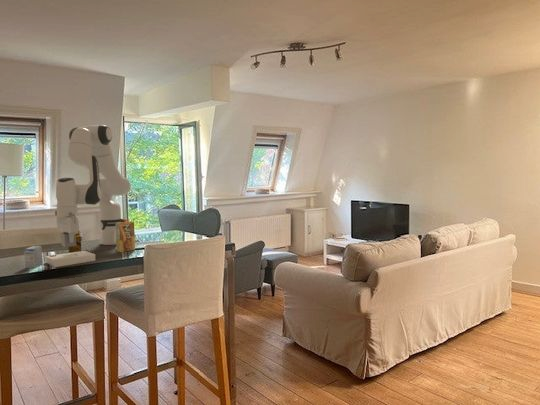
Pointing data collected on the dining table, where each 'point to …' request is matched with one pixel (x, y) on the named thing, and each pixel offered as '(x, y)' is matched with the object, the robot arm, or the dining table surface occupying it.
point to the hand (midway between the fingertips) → (68, 241)
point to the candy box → (125, 236)
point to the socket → (70, 258)
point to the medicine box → (33, 256)
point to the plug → (67, 240)
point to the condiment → (78, 245)
